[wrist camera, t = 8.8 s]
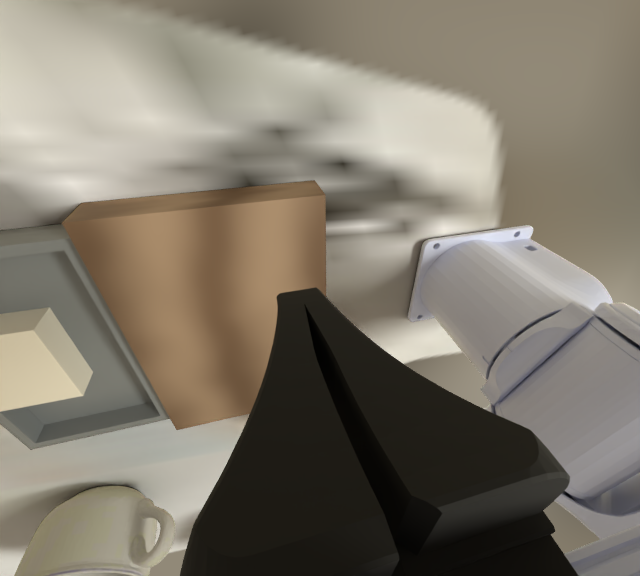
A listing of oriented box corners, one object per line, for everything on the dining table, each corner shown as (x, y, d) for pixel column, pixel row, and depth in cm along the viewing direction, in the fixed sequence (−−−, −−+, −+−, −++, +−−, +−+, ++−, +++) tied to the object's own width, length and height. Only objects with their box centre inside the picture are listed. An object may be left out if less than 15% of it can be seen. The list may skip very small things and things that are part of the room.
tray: (85, 221, 17) (71, 238, 15) (174, 397, 26) (171, 418, 25) (-141, 245, 15) (-183, 267, 13) (42, 424, 24) (30, 449, 23)
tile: (-79, 346, 16) (-52, 321, 18) (-6, 412, 20) (11, 386, 21) (33, 330, 17) (49, 307, 18) (83, 395, 21) (93, 372, 22)
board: (314, 180, 18) (325, 194, 17) (319, 373, 29) (326, 395, 27) (81, 203, 16) (61, 222, 14) (180, 403, 27) (176, 430, 25)
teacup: (86, 531, 36) (57, 631, 29) (12, 499, 29) (-46, 619, 23) (206, 490, 37) (202, 577, 31) (161, 449, 30) (145, 551, 24)
